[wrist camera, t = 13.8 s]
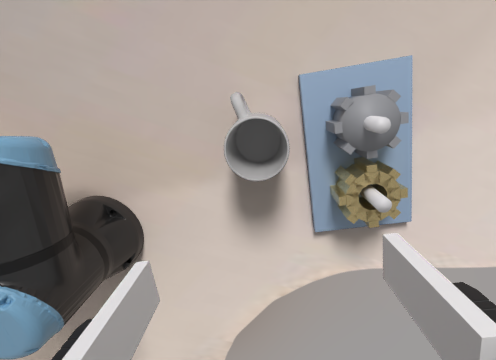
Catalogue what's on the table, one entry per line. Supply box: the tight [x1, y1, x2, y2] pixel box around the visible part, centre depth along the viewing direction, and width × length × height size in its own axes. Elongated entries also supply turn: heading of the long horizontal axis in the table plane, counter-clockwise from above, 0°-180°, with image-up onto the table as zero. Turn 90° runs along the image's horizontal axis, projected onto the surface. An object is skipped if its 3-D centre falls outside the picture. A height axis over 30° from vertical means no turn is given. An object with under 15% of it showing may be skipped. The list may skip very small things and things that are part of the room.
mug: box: [224, 92, 290, 181], centre depth 39 cm, size 12×8×11 cm
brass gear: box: [330, 157, 408, 228], centre depth 41 cm, size 10×10×6 cm
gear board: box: [299, 56, 412, 232], centre depth 39 cm, size 16×26×10 cm, turn 9°
